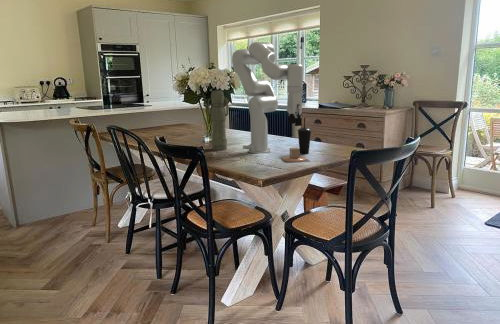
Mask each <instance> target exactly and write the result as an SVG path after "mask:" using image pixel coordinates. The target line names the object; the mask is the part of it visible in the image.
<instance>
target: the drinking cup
mask: <svg viewBox="0 0 500 324" xmlns="http://www.w3.org/2000/svg"><path fill="white" fill-rule="evenodd" d="M296 130H297V137H298V146H299V147H298V148H299V149H300V155H309V154H310V144H311V135H312V128H309V127H306V117H304V118H303V126H302V127H300V128H298V129H296Z"/></svg>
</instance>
